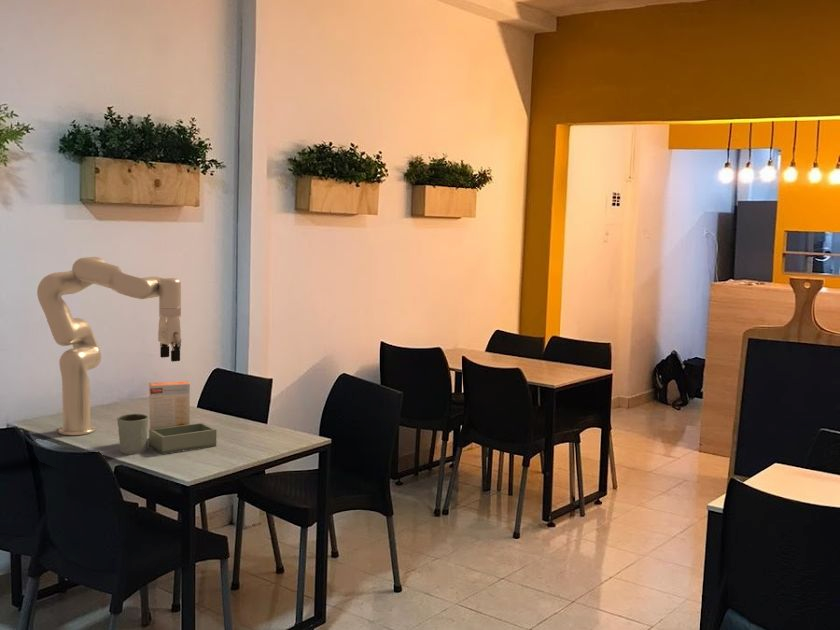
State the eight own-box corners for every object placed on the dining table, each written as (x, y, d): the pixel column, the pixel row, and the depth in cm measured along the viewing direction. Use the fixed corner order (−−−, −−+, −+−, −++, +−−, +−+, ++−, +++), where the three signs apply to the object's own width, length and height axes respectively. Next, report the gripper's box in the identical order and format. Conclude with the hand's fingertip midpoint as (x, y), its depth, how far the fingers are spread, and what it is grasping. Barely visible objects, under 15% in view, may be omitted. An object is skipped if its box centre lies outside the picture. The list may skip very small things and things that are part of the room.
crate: (149, 446, 301) (149, 429, 300) (202, 438, 313) (202, 422, 312) (162, 454, 291) (162, 437, 291) (216, 445, 304) (216, 429, 303)
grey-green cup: (150, 446, 300) (150, 413, 299) (145, 454, 290) (145, 420, 289) (120, 446, 298) (120, 413, 297) (114, 454, 289) (114, 420, 287)
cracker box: (188, 435, 317) (188, 380, 314) (190, 439, 311) (190, 383, 309) (149, 437, 312) (149, 382, 309) (150, 442, 306) (150, 385, 304)
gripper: (150, 310, 310) (151, 356, 312) (169, 315, 297) (169, 363, 299) (170, 309, 315) (170, 354, 317) (189, 314, 302) (189, 361, 304)
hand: (170, 359), depth 308 cm, fingers open, 9 cm apart
